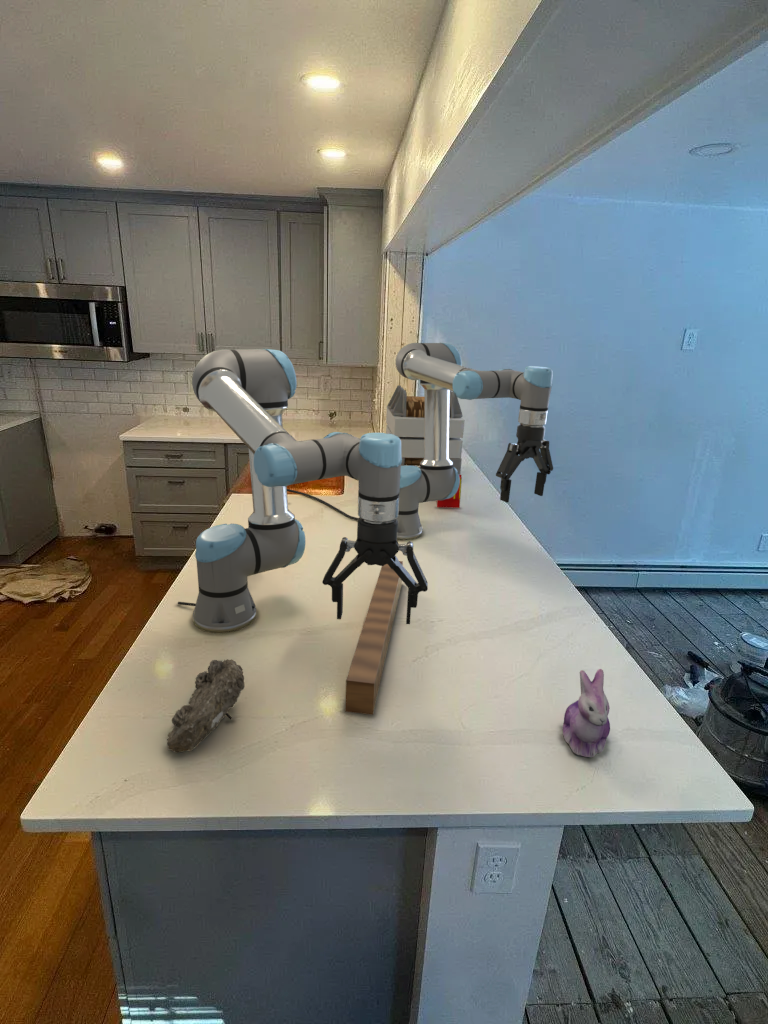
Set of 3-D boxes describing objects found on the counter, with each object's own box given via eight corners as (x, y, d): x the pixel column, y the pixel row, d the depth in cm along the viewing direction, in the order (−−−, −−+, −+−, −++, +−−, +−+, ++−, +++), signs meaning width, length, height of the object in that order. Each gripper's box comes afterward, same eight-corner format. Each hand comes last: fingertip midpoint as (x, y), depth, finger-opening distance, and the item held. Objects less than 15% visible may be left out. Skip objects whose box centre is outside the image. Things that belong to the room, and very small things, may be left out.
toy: (454, 466, 253) (465, 475, 223) (452, 495, 255) (463, 509, 226) (427, 465, 252) (435, 474, 223) (425, 494, 255) (433, 508, 226)
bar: (382, 582, 164) (383, 559, 161) (401, 584, 163) (403, 561, 161) (345, 711, 111) (346, 680, 109) (372, 715, 111) (374, 683, 108)
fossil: (192, 660, 117) (244, 628, 112) (224, 691, 120) (276, 661, 115) (142, 746, 98) (202, 712, 93) (182, 779, 101) (242, 748, 96)
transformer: (382, 463, 289) (386, 382, 275) (445, 464, 293) (451, 384, 279) (390, 482, 257) (394, 392, 243) (460, 483, 261) (468, 394, 247)
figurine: (588, 767, 100) (602, 697, 95) (547, 730, 108) (559, 664, 103) (625, 751, 104) (641, 683, 99) (583, 716, 112) (596, 652, 107)
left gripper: (307, 520, 102) (307, 623, 109) (445, 529, 101) (437, 632, 108) (314, 507, 109) (314, 604, 116) (444, 515, 108) (436, 613, 115)
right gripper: (507, 430, 146) (498, 507, 154) (573, 424, 159) (561, 495, 167) (488, 425, 152) (480, 499, 160) (552, 419, 165) (542, 488, 172)
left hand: (373, 618), depth 112 cm, fingers open, 13 cm apart
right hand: (521, 497), depth 163 cm, fingers open, 13 cm apart
